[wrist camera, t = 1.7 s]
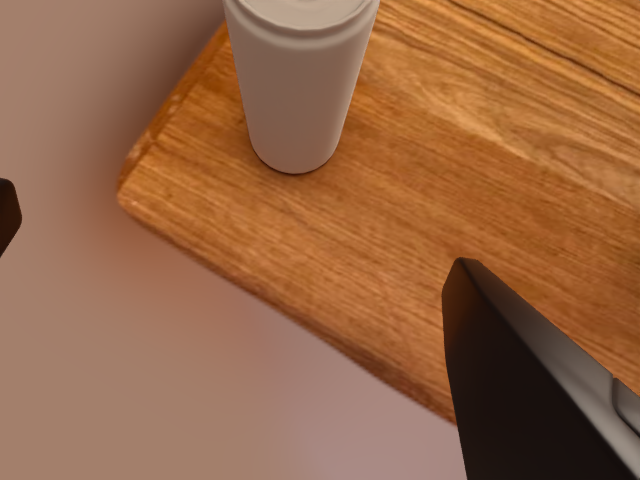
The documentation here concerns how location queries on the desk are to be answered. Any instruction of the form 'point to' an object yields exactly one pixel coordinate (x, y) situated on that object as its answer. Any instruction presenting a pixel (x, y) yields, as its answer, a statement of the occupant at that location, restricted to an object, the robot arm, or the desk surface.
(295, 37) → the beverage can
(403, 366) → the desk surface
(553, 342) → the robot arm
